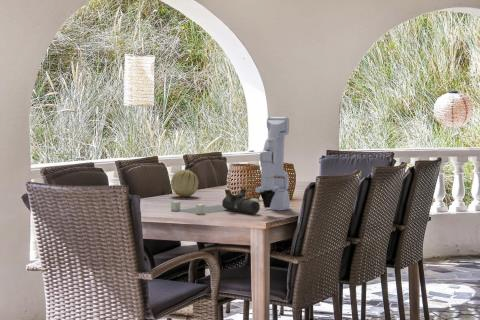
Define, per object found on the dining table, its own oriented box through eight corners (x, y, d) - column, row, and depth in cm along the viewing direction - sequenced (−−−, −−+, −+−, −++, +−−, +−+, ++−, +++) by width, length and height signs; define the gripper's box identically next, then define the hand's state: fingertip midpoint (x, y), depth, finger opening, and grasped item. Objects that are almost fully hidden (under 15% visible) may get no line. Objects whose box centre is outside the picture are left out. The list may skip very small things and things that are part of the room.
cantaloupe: (166, 197, 436) (167, 169, 435) (176, 194, 450) (177, 167, 449) (192, 198, 432) (193, 170, 431) (202, 196, 446) (202, 168, 445)
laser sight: (246, 215, 367) (246, 192, 366) (217, 209, 385) (217, 188, 384) (263, 213, 372) (263, 191, 372) (234, 208, 391) (234, 187, 390)
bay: (229, 204, 410) (229, 195, 410) (258, 207, 397) (258, 199, 397) (171, 210, 380) (171, 201, 380) (200, 214, 368) (200, 205, 367)
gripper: (271, 175, 375) (270, 205, 376) (250, 177, 364) (249, 208, 365) (283, 176, 370) (282, 206, 371) (262, 178, 359) (261, 209, 360)
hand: (267, 207), depth 368 cm, fingers closed
